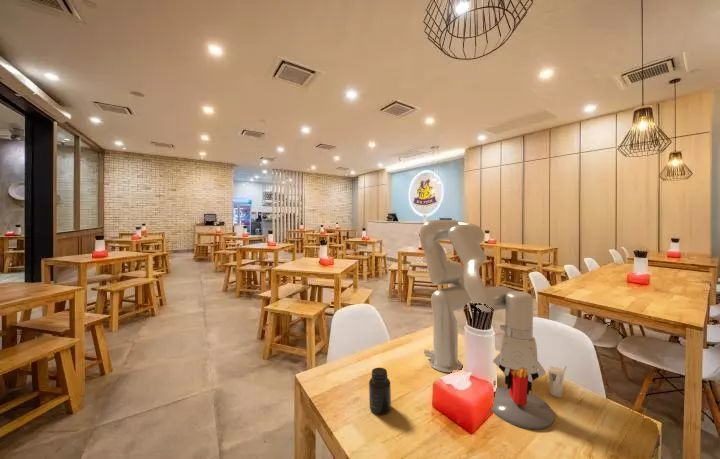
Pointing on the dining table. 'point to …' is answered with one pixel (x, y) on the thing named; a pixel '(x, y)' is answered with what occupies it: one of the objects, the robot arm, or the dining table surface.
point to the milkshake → (556, 380)
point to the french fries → (518, 386)
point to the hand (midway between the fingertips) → (518, 388)
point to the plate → (522, 410)
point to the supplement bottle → (379, 392)
